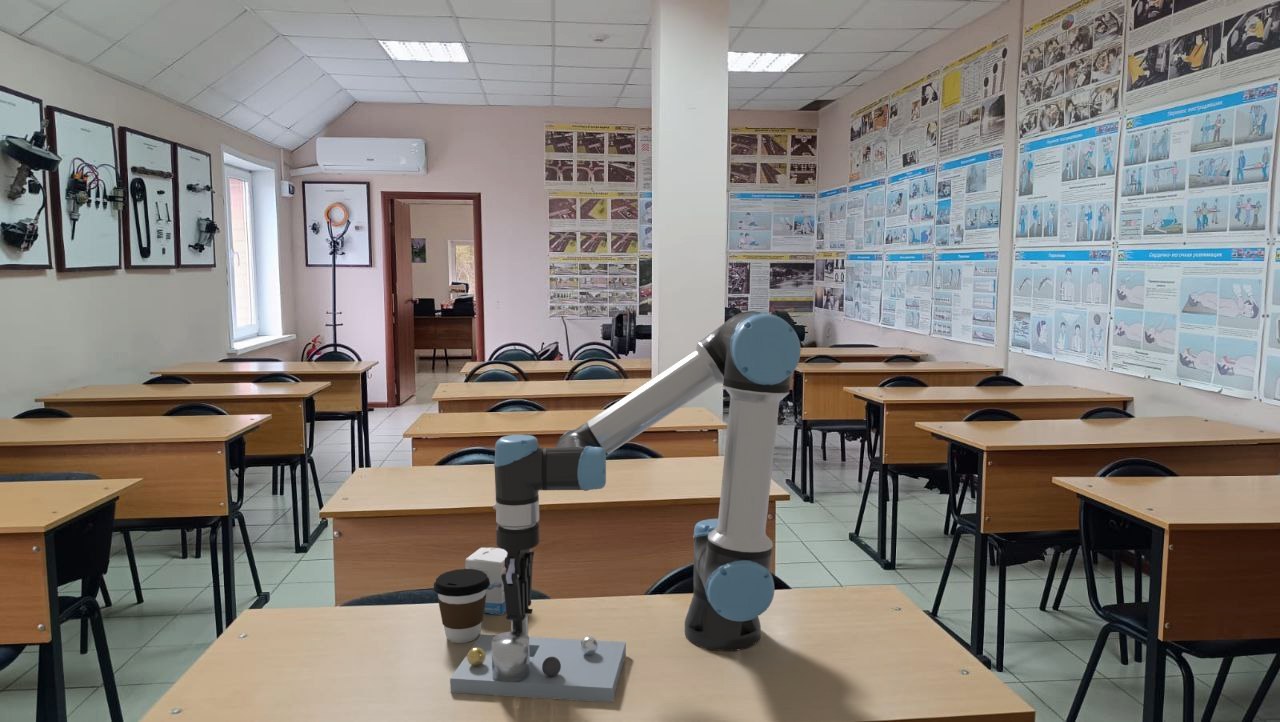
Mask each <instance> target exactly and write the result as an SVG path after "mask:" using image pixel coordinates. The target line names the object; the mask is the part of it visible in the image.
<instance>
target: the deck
mask: <svg viewBox="0 0 1280 722" xmlns="http://www.w3.org/2000/svg"><path fill="white" fill-rule="evenodd" d="M496 635H497V634H483V633H482V634H480V636H478V637H479V638H477V639H476V642H475V643H474V645H473V646H472V647H471V649H472V648H474V647H480V648H482V649H483V650H484V651H485V654H486V658H485V661H484V662H483V663H482V664H481V665H480V666H472V665H470V664H469V662H468V660H467V655H468V653H467V654H466V656H465V657H464V659H463V660H462V661H461V663H460V664H459V665H458V666H457V668H456V669H455V671H454V672H453V673H452V675H451V676H450V679H449V682H450V686H449V687H450V689H449V690H450V693H453V694H455V693H456V694H457V693H458V694H470V695H489V696H501V697H502V696H504V697H519V698H520V697H521V698H534V699H552V700H553V699H554V700H566V701H567V700H568V701H583V702H585V701H586V702H600V703H613V700H614V697H615V695H616V691H617V687H618V684H619V681H620V676H621V673H622V670H623V666H624V662H625V659H626V656H627V653H626V652H627V647H626V644H627V643H626V641H612V640H597V639H596V641H597V643H598V648H597V650H596V652H595V653H594V654H592V655H586V654H584V653H583V652H582V651H581V648H580V644H581V641H582V640H583V639H576V638H575V639H574V638H555V637H538V636H529V649H530V673H529V675H528V676H527V677H526V678H525V679H523V680H520V681H517V682H500V681H497V680H495V679H494V678H493V676H492V639H493V638H494V637H495V636H496ZM548 657H556V658H557V659H558V660H559V661H560V664H561V669H560V671H559V673H558V674H557V675H555V676H553V677H550V676H547V675H545V674H544V672H543V670H542V664H543V662H544V660H545V659H546V658H548Z"/></svg>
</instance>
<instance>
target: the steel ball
mask: <svg viewBox="0 0 1280 722" xmlns="http://www.w3.org/2000/svg"><path fill="white" fill-rule="evenodd" d="M581 640H582V641H581V644H580V648H581V651H582V652H583V653H584V654H586V655H592V654H594V653H595V652H596V650H597V648H598V643H597V641H598V640H597V639H596V638H595V637H594V636H592V635H591V636H590V635H589V636H585V637H583V639H581ZM596 640H597V641H596Z"/></svg>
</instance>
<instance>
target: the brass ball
mask: <svg viewBox="0 0 1280 722" xmlns="http://www.w3.org/2000/svg"><path fill="white" fill-rule="evenodd" d="M467 654H468V655H467ZM467 654H466V656H467V660H468V662H469V664H470V665H472V666H480V665H481V664H482V663H483V662H484V661H485V658H486V654H485V651H484V650H483V649H482V648H480V647H474V648H472V647H471V649H469V651H468V652H467Z"/></svg>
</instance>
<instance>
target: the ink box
mask: <svg viewBox="0 0 1280 722" xmlns="http://www.w3.org/2000/svg"><path fill="white" fill-rule="evenodd" d="M505 557H507V551H505V550H504V549H501V548H499V547H480V548H479V549H477V550H476V551H474V552H473V553H472V554H470V555H469V556H468V557H466V558H465V560H464V561H465V562H464V563H465V569H476V570H480V571H483V572H484V573H486V574H487V577H488V578H489V580H490V585H489V587H488V588H487V589H486V601H485V608H484V613H492V614H491V615H496V614H503V613H504V614H505V612H506V604H505V594H504V585H503V581H502V577H501V576H502V573H506V568H505ZM504 614H503V615H504Z"/></svg>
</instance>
